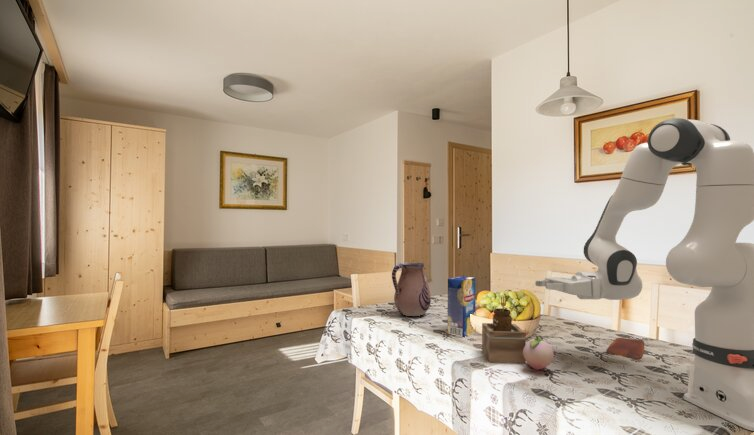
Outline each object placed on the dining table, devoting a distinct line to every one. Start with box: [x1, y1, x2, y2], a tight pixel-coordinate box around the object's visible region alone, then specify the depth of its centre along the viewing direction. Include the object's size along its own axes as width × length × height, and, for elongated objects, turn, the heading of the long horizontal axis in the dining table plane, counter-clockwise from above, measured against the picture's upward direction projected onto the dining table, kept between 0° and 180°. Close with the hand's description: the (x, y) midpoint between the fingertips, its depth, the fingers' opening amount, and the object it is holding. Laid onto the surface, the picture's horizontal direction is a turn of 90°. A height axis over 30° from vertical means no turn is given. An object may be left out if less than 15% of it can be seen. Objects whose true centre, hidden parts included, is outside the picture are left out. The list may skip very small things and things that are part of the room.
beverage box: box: [447, 275, 476, 338], centre depth 150 cm, size 7×11×22 cm, turn 141°
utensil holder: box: [492, 296, 513, 331], centre depth 124 cm, size 6×6×12 cm
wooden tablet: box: [606, 337, 645, 361], centre depth 134 cm, size 27×10×2 cm, turn 140°
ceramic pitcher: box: [391, 261, 432, 317], centre depth 179 cm, size 18×21×25 cm
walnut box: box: [481, 322, 527, 364], centre depth 122 cm, size 11×11×10 cm
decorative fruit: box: [523, 335, 555, 371], centre depth 111 cm, size 9×8×10 cm
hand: (541, 284), depth 122 cm, fingers open, 8 cm apart
